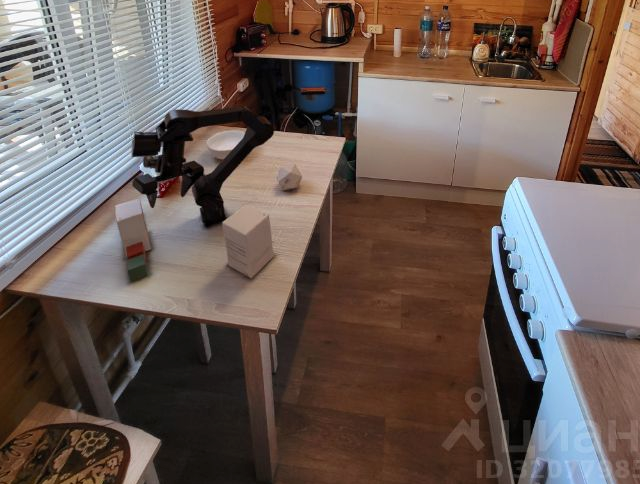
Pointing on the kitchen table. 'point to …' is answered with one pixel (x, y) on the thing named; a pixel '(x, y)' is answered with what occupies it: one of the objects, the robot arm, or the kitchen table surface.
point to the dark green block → (137, 267)
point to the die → (289, 177)
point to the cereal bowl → (224, 143)
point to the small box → (132, 224)
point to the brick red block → (135, 250)
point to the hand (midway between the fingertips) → (167, 201)
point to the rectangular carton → (248, 240)
